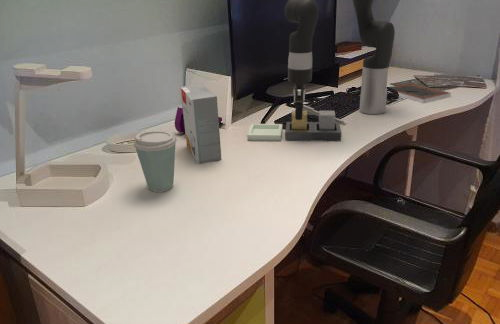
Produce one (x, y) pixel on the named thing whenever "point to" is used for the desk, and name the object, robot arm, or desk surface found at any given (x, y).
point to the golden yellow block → (299, 121)
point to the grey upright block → (326, 120)
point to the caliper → (313, 112)
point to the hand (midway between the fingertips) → (298, 115)
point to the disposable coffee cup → (157, 158)
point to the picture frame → (420, 93)
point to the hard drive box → (201, 122)
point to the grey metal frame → (312, 133)
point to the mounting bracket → (180, 121)
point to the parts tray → (265, 132)
